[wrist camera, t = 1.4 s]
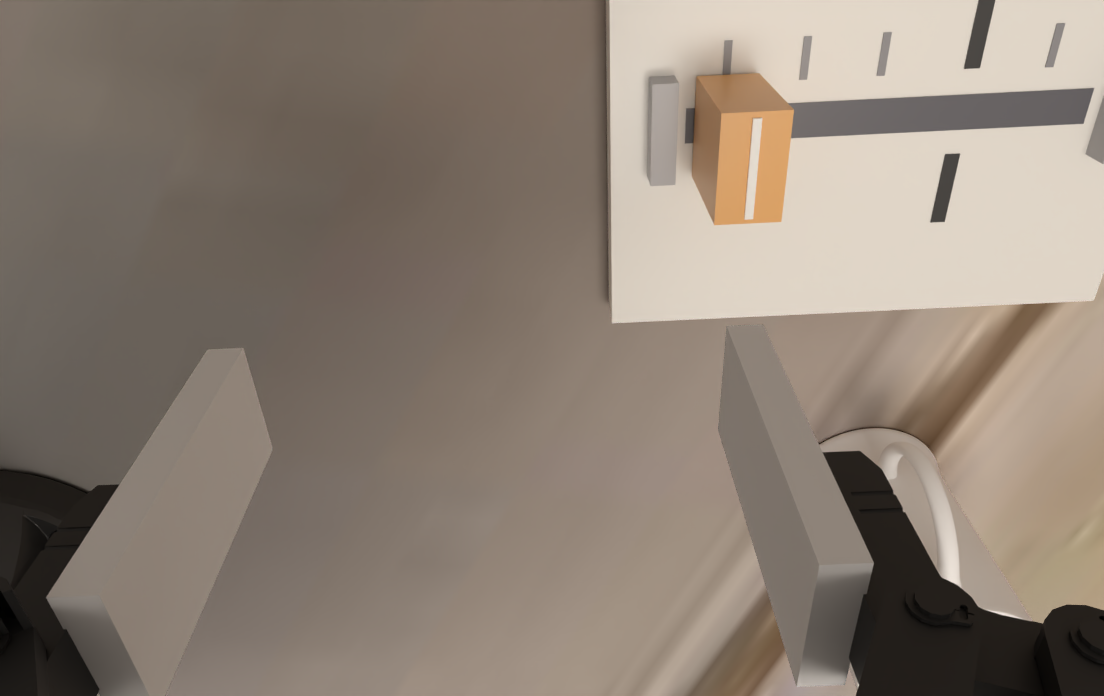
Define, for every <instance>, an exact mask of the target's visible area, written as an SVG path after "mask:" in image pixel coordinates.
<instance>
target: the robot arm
mask: <svg viewBox="0 0 1104 696" xmlns="http://www.w3.org/2000/svg"><path fill="white" fill-rule="evenodd" d="M718 431H719V435H720V438H721V441H722V444H723V448H724V451H725V454H726V457H727V461H728V464H729V467H730V471H731V474H732V477H733V480H734V484H735V487H736V490H737V493H738V497H739V500H740V503H741V507H742V510H743V513H744V516H745V520H746V523H747V526H748V529H749V533H750V536H751V539H752V543H753V546H754V549H755V552H756V556H757V559H758V562H759V565H760V569H761V572H762V575H763V579H764V582H765V585H766V588H767V592H768V595H769V598H770V601H771V605H772V608H773V611H774V615H775V618H776V621H777V624H778V628H779V631H780V634H781V637H782V641H783V644H784V647H785V651H786V654H787V657H788V660H789V664H790V667H791V670H792V673H793V677H794V680H795V683H796V687H807V686H832V685H845V682H846V678H847V674H848V670H849V666H850V662H851V665H852V668H853V670H854V673H855V676H856V678H857V681H858V684H859V686H858V690H857V694H856V696H1104V610H1100V609H1097V608H1093V607H1090V606H1087V605H1065V606H1062V607H1059V608H1056V609H1053V610H1052V611H1051V612H1050V614H1049V615H1048V616H1047V618H1046V619H1045V620H1044V623H1043V624H1042V623H1037V622H1033V621H1028V620H1023V619H1019V618H1014V617H1009V616H1005V615H1000V614H997V613H993V612H990V611H987V610H984V609H982V608H980V607H978V606H977V604H976V603H975V601H974V600H973V598H972V597H971V596H970V595H969V594H968V593H966V592H965V591H964V590H963V589H962V588H960V587H959V586H958V585H957V584H954V583H952V582H950V581H948V580H946V579H944V578H942V577H941V576H940V575H939V573H938V571H937V569H936V567H935V566H934V564H933V562H932V560H931V558H930V556H929V555H928V553H927V551H926V549H925V547H924V546H923V544H922V542H921V540H920V538H919V536H918V535H917V533H916V531H915V529H914V527H913V525H912V524H911V522H910V520H909V518H908V516H907V514H906V513H905V512H903V507H902V505H901V503H900V502H899V500H898V498H897V496H896V495H894V494H893V489H892V487H891V485H890V483H889V482H888V480H887V478H886V476H885V474H884V472H883V471H882V469H881V468H880V467H879V466H877V465H876V464H875V463H874V462H873V461H872V460H870V459H869V458H868V457H867V456H866V455H864V454H863V453H862V452H861V451H841V452H822V450H821V448H820V446H819V444H818V442H817V439H816V437H815V435H814V433H813V431H812V429H811V427H810V424H809V422H808V420H807V418H806V416H805V414H804V411H803V409H802V407H801V405H800V403H799V401H798V399H797V396H796V394H795V392H794V390H793V388H792V386H791V384H790V381H789V379H788V377H787V375H786V373H785V371H784V368H783V366H782V364H781V362H780V360H779V358H778V356H777V353H776V351H775V349H774V347H773V345H772V343H771V341H770V338H769V336H768V334H767V332H766V330H765V328H764V325H763V324H759V325H737V326H727V327H726V339H725V351H724V363H723V375H722V387H721V399H720V412H719V424H718ZM272 450H273V448H272V444H271V441H270V437H269V434H268V430H267V427H266V424H265V420H264V417H263V413H262V410H261V406H260V403H259V400H258V396H257V393H256V389H255V386H254V383H253V379H252V376H251V372H250V369H249V365H248V362H247V359H246V355H245V352H244V348H229V349H207V351H206V352H205V354H204V356H203V357H202V359H201V360H200V362H199V363H198V365H197V366H196V368H195V369H194V371H193V372H192V374H191V376H190V377H189V379H188V380H187V382H186V383H185V385H184V386H183V388H182V389H181V391H180V392H179V394H178V395H177V397H176V399H175V400H174V402H173V403H172V405H171V406H170V408H169V409H168V411H167V412H166V414H165V415H164V417H163V419H162V420H161V422H160V423H159V425H158V426H157V428H156V429H155V431H154V432H153V434H152V435H151V437H150V439H149V440H148V442H147V443H146V445H145V446H144V448H143V449H142V451H141V452H140V454H139V455H138V457H137V458H136V460H135V462H134V463H133V465H132V466H131V468H130V469H129V471H128V472H127V474H126V475H125V477H124V478H123V480H122V482H121V483H120V485H98V486H97V487H95V488H94V489H93V490H92V491H90V492H89V493H88V494H86V493H84V492H82V491H80V490H78V489H75V488H73V487H70V486H68V485H65V484H62V483H59V482H56V481H53V480H49V479H46V478H42V477H38V476H34V475H29V474H23V473H16V472H7V471H0V696H97V694H98V693H99V694H100V696H165V695H166V693H167V691H168V688H169V686H170V684H171V682H172V679H173V677H174V675H175V672H176V670H177V668H178V666H179V663H180V661H181V659H182V656H183V654H184V652H185V650H186V647H187V645H188V643H189V640H190V638H191V636H192V634H193V631H194V629H195V627H196V624H197V622H198V620H199V617H200V615H201V613H202V611H203V608H204V606H205V604H206V601H207V599H208V597H209V595H210V592H211V590H212V588H213V585H214V583H215V581H216V579H217V576H218V574H219V572H220V569H221V567H222V565H223V562H224V560H225V558H226V556H227V553H228V551H229V549H230V546H231V544H232V542H233V540H234V537H235V535H236V533H237V530H238V528H239V526H240V524H241V521H242V519H243V517H244V514H245V512H246V510H247V507H248V505H249V503H250V501H251V498H252V496H253V494H254V491H255V489H256V487H257V485H258V482H259V480H260V478H261V475H262V473H263V471H264V469H265V466H266V464H267V462H268V459H269V457H270V455H271V452H272Z"/></svg>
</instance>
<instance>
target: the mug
mask: <svg viewBox="0 0 1104 696" xmlns="http://www.w3.org/2000/svg"><path fill="white" fill-rule="evenodd" d="M819 446H820V448H821V450H822V452H841V451H861V452H862V453H863V454H864V455H866V456H867V457H868V458H869V459H870V460H872V461H873V462H874V463H875V464H876V465H877V466H879V467H880V468H881V469H882V471H883V472H884V474H885V476H886V478H887V480H888V482H889V483H890V485H891V487H892V489H893V494H894V495H896V496H897V498H898V500H899V502H900V503H901V505H902V507H903V512H905V513H906V514H907V516H908V518H909V520H910V522H911V524H912V525H913V527H914V529H915V531H916V533H917V535H918V536H919V538H920V540H921V542H922V544H923V546H924V547H925V549H926V551H927V553H928V555H929V556H930V558H931V560H932V562H933V564H934V566H935V567H936V569H937V571H938V573H939V575H940V576H941V577H942V578H944V579H946V580H948V581H950V582H952V583H954V584H957V585H958V586H959V587H960V588H962V589H963V590H964V591H965V592H966V593H968V594H969V595H970V596H971V597H972V598H973V600H974V601H975V603H976V604H977V606H978V607H980V608H982V609H984V610H987V611H990V612H993V613H997V614H1000V615H1005V616H1009V617H1014V618H1019V619H1023V620H1028V621H1033V620H1032V619H1031V617H1030V616H1029V614H1028V612H1027V611H1026V609H1025V608H1024V606H1023V605H1022V603H1021V601H1020V600H1019V598H1018V597H1017V595H1016V594H1015V592H1014V590H1013V589H1012V587H1011V586H1010V584H1009V582H1008V581H1007V579H1006V578H1005V576H1004V575H1003V573H1002V571H1001V570H1000V568H999V567H998V565H997V564H996V562H995V560H994V559H993V557H992V556H991V554H990V553H989V551H988V549H987V548H986V546H985V545H984V543H983V541H982V540H981V538H980V537H979V535H978V534H977V532H976V530H975V529H974V527H973V526H972V524H971V523H970V521H969V519H968V518H967V516H966V515H965V513H964V511H963V510H962V508H961V507H960V505H959V504H958V502H957V500H956V499H955V497H954V496H953V494H952V492H951V491H950V489H949V488H948V486H947V484H946V483H945V481H944V479H943V478H942V476H941V474H940V471H939V467H938V464H937V461H936V459H935V457H934V455H933V453H932V452H931V451H930V449H929V448H928V447H927V446H926V445H925V444H924V443H922V442H921V441H920V440H918V439H917V438H915V437H913V436H911V435H909V434H907V433H904V432H901V431H897V430H892V429H884V428H869V429H860V430H855V431H850V432H847V433H843V434H840V435H838V436H835V437H833V438H831V439H828V440H827V441H825V442H823V443H821V444H819ZM849 669H850V672H851V674H852V677H853V680H854V682H855V685H856V688H857V690H858V686H859V684H858V681H857V678H856V676H855V673H854V670H853V668H852V665H851V662H850V666H849Z"/></svg>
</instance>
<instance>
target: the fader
mask: <svg viewBox="0 0 1104 696" xmlns="http://www.w3.org/2000/svg"><path fill="white" fill-rule="evenodd" d="M793 115H794V109H793V108H792V107H791V106H790V105H789V104H788V103H787V102H786V101H785V100H784V99H783V98H782V97H781V96H780V94H779V93H778V92H777V91H776V90H775V89H774V88H773V87H772V86H771V85H770V84H769V83H768V82H767V81H766V80H765V79H764V78H763V77H762V76H761V74H760V73H751V74H731V75H711V76H697V77H696V98H695V119H694V140H693V161H692V178H693V180H694V182H695V184H696V186H697V189H698V191H699V193H700V195H701V197H702V200H703V202H704V204H705V206H706V208H707V211H708V213H709V215H710V217H711V219H712V222H713V224H714V225H729V224H750V223H770V222H781V221H782V212H783V203H784V195H785V186H786V177H787V168H788V159H789V150H790V142H791V133H792V124H793Z"/></svg>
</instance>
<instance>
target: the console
mask: <svg viewBox="0 0 1104 696" xmlns="http://www.w3.org/2000/svg"><path fill="white" fill-rule="evenodd" d="M751 73H760V74H761V76H762V77H763V78H764V79H765V80H766V81H767V82H768V83H769V84H770V85H771V86H772V87H773V88H774V89H775V90H776V91H777V92H778V93H779V94H780V96H781V97H782V98H783V99H784V100H785V101H786V102H787V103H788V104H789V105H790V106H791V107H792V108H793V109H794V115H793V124H792V133H791V142H790V150H789V159H788V168H787V177H786V186H785V195H784V203H783V212H782V221H781V222H770V223H750V224H729V225H714V224H713V222H712V219H711V217H710V215H709V213H708V211H707V208H706V206H705V204H704V202H703V200H702V197H701V195H700V193H699V191H698V189H697V186H696V184H695V182H694V180H693V178H692V161H693V140H694V119H695V98H696V77H697V76H711V75H731V74H751ZM606 77H607V177H608V277H609V307H610V314H611V320H612V323H628V322H649V321H670V320H692V319H713V318H734V317H756V316H777V315H798V314H820V313H841V312H863V311H884V310H905V309H927V308H948V307H969V306H991V305H1012V304H1033V303H1055V302H1076V301H1094V298H1095V295H1096V293H1097V290H1098V287H1099V284H1100V281H1101V279H1102V276H1103V273H1104V0H606Z"/></svg>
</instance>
